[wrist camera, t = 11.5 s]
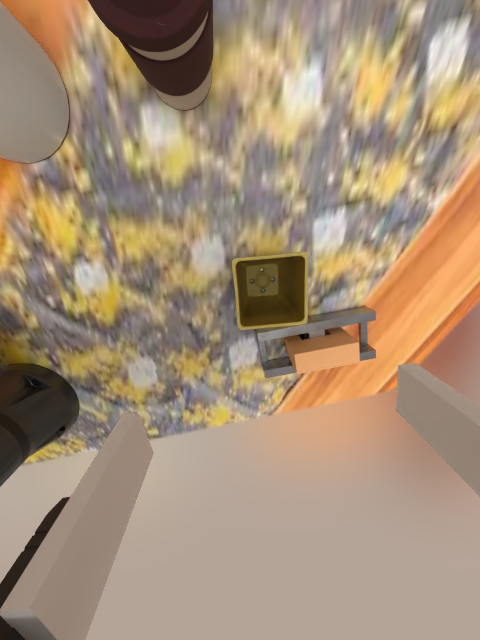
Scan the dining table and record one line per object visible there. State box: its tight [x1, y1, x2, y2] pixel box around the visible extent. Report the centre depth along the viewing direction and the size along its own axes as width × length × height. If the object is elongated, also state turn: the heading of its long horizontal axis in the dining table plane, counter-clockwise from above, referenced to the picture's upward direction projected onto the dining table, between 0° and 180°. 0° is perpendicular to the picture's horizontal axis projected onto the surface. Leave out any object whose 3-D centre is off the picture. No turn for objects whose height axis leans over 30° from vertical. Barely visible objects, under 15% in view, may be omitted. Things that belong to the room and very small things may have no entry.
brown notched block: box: [284, 327, 360, 374], centre depth 36 cm, size 9×3×7 cm, turn 101°
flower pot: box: [232, 252, 308, 330], centre depth 32 cm, size 9×9×9 cm
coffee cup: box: [88, 0, 213, 110], centre depth 21 cm, size 10×10×15 cm
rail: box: [256, 306, 376, 378], centre depth 38 cm, size 18×8×3 cm, turn 101°
